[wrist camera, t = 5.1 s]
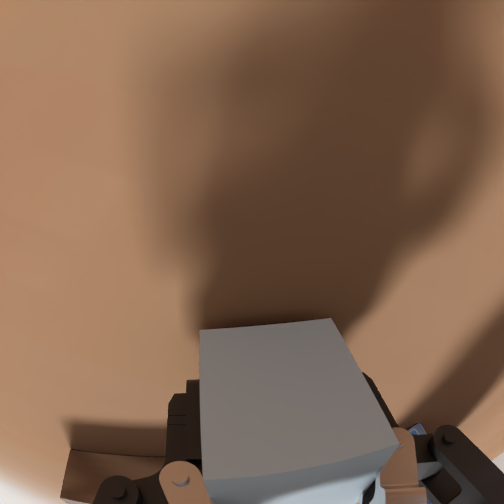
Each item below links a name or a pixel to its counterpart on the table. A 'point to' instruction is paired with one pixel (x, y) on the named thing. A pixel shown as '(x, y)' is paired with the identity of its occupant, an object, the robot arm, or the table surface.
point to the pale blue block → (287, 416)
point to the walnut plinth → (101, 473)
